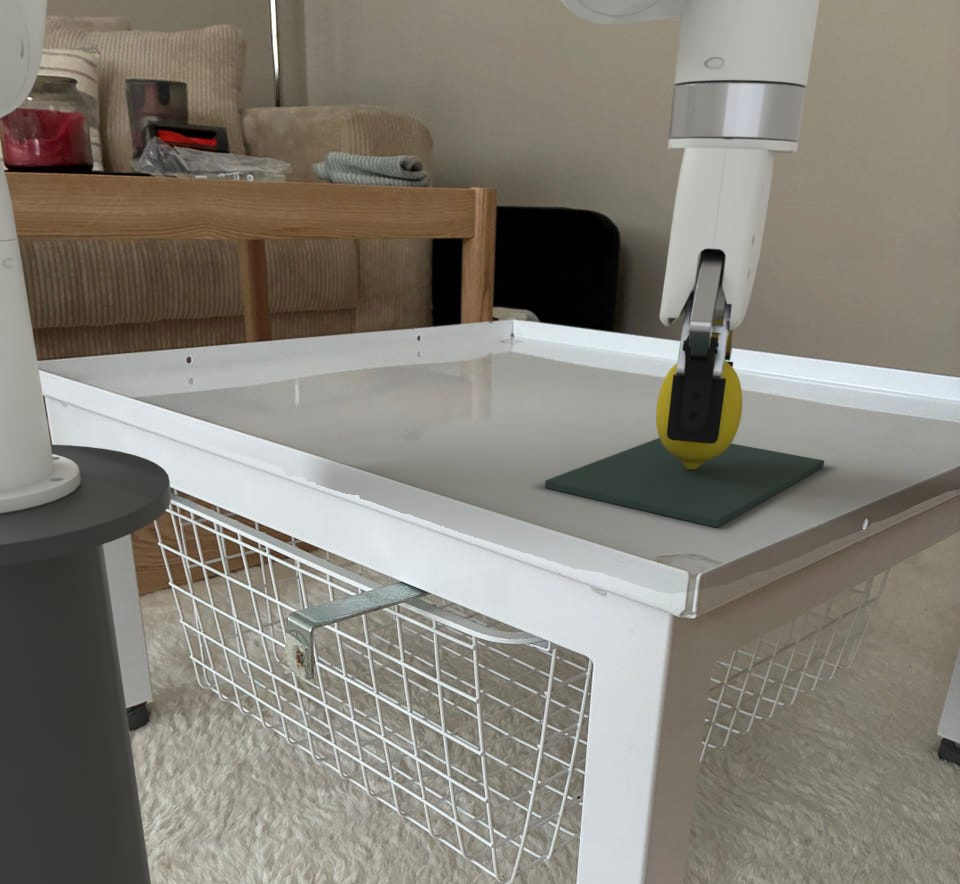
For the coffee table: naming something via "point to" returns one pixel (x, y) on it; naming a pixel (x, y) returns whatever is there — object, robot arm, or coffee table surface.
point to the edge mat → (687, 481)
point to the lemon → (730, 420)
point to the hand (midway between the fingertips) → (697, 427)
